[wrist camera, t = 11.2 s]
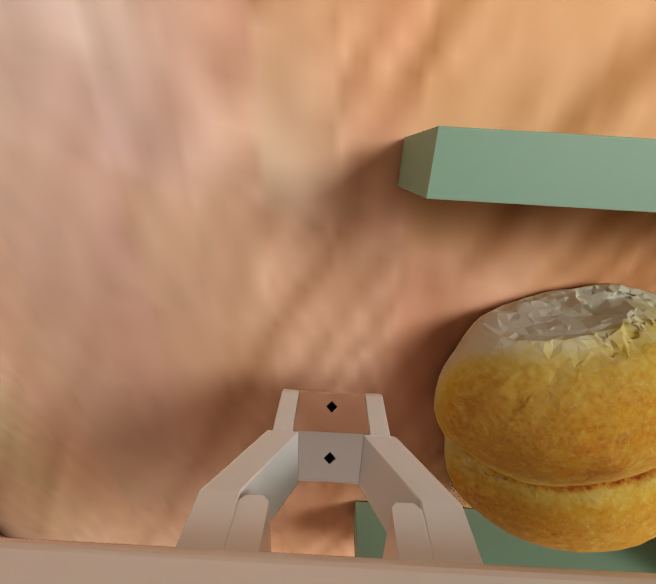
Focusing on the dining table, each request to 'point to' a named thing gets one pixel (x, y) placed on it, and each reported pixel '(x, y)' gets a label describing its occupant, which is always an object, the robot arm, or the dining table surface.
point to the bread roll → (557, 417)
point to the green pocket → (530, 189)
